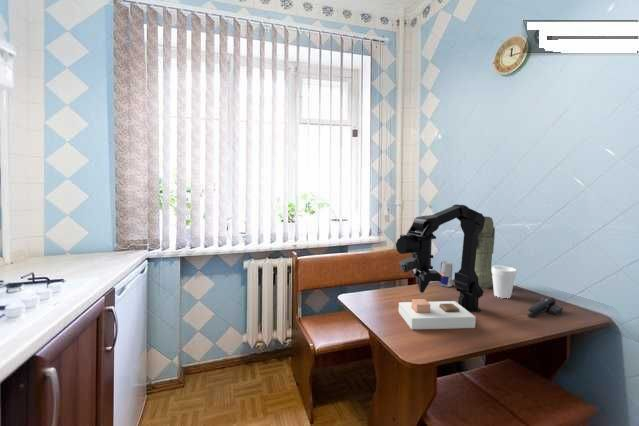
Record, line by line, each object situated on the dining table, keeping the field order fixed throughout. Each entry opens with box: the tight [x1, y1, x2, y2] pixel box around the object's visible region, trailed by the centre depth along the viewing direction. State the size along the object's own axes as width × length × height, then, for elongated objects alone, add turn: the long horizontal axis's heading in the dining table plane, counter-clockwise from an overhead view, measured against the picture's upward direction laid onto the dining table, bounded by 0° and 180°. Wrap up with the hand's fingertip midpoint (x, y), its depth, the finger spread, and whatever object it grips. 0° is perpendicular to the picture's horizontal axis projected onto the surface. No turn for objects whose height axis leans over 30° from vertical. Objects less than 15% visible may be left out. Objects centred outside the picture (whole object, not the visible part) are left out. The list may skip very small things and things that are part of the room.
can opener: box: [527, 297, 564, 319], centre depth 113 cm, size 18×7×6 cm, turn 114°
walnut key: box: [440, 304, 459, 312], centre depth 108 cm, size 5×5×4 cm
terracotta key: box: [411, 298, 430, 313], centre depth 107 cm, size 5×5×4 cm
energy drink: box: [439, 260, 453, 288], centre depth 144 cm, size 5×5×12 cm
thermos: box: [475, 216, 496, 289], centre depth 143 cm, size 9×12×35 cm
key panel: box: [398, 300, 477, 330], centre depth 108 cm, size 23×14×4 cm, turn 93°
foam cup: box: [491, 265, 518, 300], centre depth 130 cm, size 10×9×13 cm
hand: (421, 292), depth 107 cm, fingers closed
